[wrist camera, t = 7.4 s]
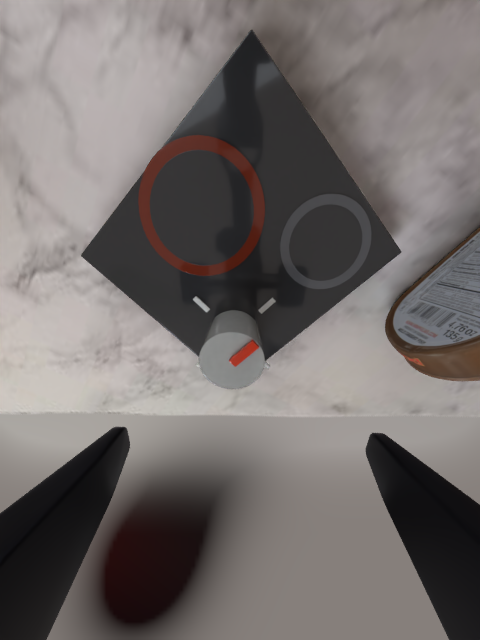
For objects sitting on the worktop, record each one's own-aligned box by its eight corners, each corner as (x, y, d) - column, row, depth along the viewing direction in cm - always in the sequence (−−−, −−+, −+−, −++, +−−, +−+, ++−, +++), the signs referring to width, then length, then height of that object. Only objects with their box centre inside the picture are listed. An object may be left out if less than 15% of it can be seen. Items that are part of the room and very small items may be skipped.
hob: (93, 259, 17) (73, 262, 15) (250, 57, 13) (252, 24, 11) (233, 380, 21) (233, 396, 19) (388, 256, 17) (408, 259, 15)
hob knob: (233, 365, 18) (231, 403, 14) (197, 333, 17) (183, 363, 13) (270, 335, 17) (279, 366, 13) (234, 299, 16) (232, 320, 12)
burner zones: (113, 210, 14) (112, 210, 14) (244, 37, 11) (244, 35, 11) (260, 351, 18) (260, 351, 18) (388, 246, 15) (389, 246, 15)
